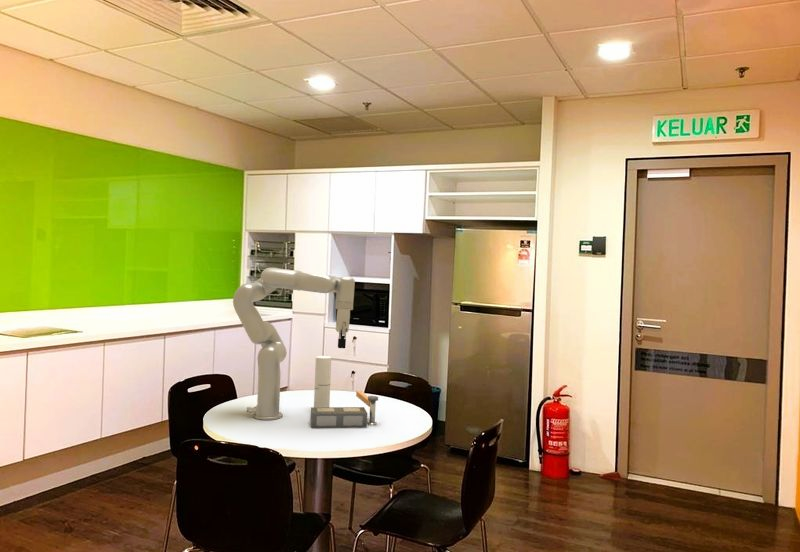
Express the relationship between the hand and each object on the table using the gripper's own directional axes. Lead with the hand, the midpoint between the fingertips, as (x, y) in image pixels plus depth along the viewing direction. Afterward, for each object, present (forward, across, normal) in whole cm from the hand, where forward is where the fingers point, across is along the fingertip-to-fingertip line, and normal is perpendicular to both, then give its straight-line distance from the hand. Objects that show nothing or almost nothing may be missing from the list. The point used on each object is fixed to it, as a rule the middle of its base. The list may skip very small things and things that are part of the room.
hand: (341, 347), depth 261 cm
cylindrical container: (+32, -18, -5) cm, 38 cm away
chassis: (+32, +6, 0) cm, 32 cm away
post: (+31, +5, +15) cm, 35 cm away
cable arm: (+25, -5, +13) cm, 28 cm away
